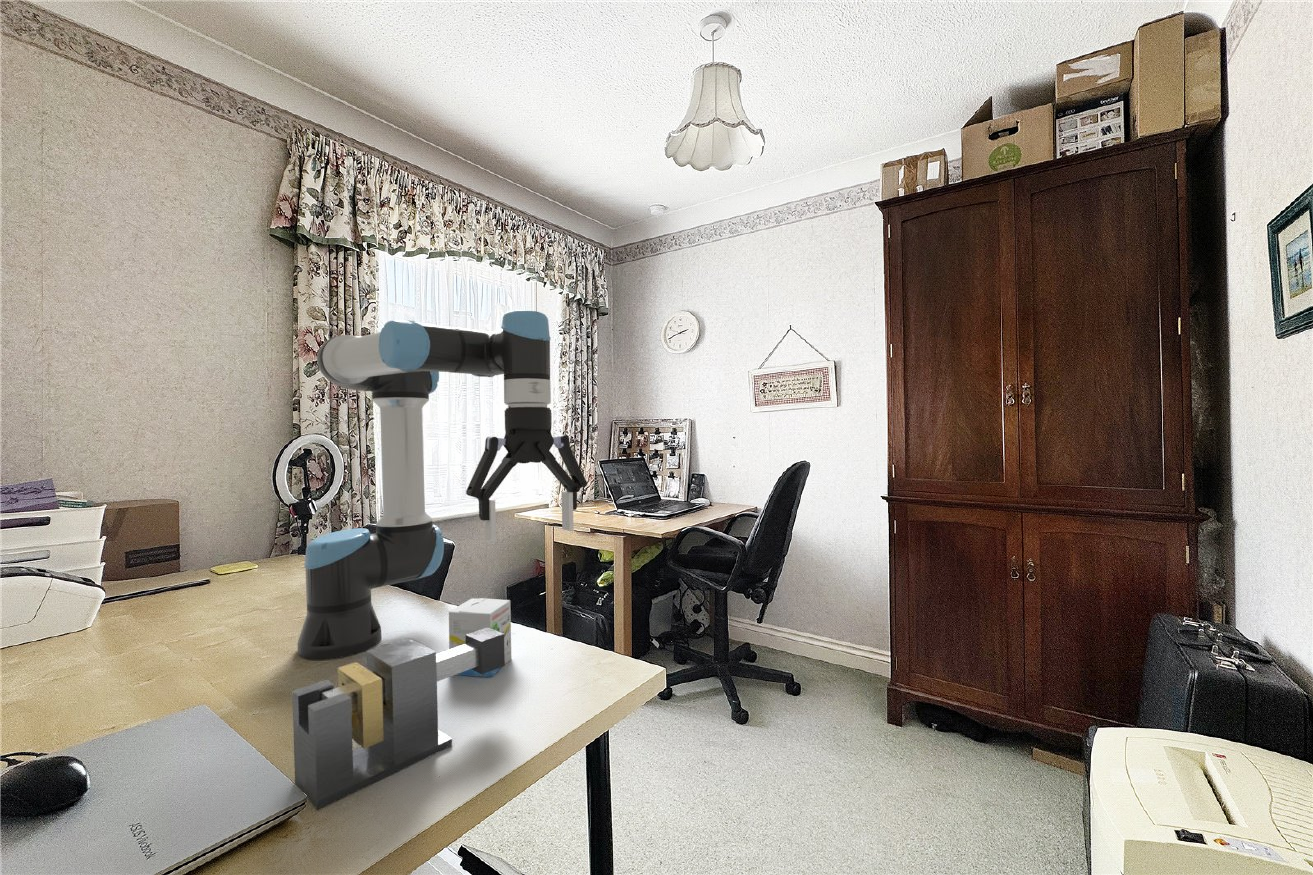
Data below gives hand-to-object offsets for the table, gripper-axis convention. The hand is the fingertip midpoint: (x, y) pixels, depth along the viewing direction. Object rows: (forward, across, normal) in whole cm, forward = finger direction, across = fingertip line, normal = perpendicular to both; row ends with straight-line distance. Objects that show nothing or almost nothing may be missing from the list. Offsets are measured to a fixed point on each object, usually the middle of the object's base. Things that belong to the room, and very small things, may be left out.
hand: (531, 535), depth 91 cm
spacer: (+22, -26, -4) cm, 35 cm away
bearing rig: (+27, -24, -4) cm, 37 cm away
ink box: (+27, -3, +17) cm, 32 cm away
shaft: (+19, -18, -3) cm, 27 cm away
